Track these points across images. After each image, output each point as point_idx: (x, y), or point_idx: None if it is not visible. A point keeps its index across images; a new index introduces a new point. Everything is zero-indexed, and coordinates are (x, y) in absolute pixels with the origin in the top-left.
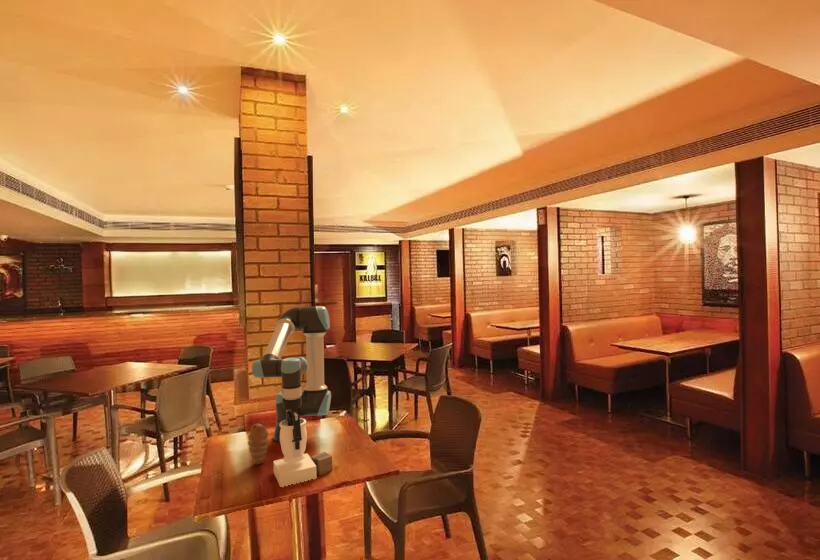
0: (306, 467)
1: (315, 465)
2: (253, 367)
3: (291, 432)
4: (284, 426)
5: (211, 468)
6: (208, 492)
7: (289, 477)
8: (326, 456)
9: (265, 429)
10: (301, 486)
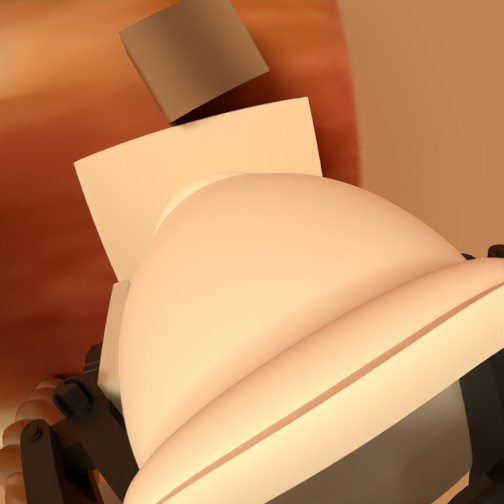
0: (306, 157)
1: (297, 100)
2: None
3: (459, 386)
4: (449, 486)
5: (102, 477)
6: None
7: None
8: (216, 18)
9: (19, 494)
10: (329, 176)
